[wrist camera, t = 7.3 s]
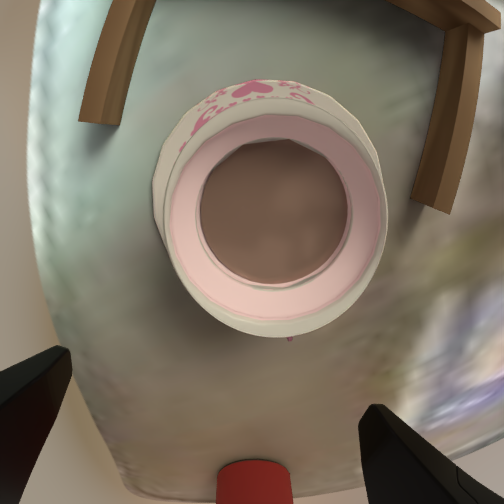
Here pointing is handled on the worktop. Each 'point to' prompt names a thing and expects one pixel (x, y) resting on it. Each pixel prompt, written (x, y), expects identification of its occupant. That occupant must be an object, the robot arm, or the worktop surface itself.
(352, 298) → the teacup
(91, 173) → the worktop surface
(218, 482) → the beer can
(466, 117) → the open wooden frame
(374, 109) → the worktop surface
